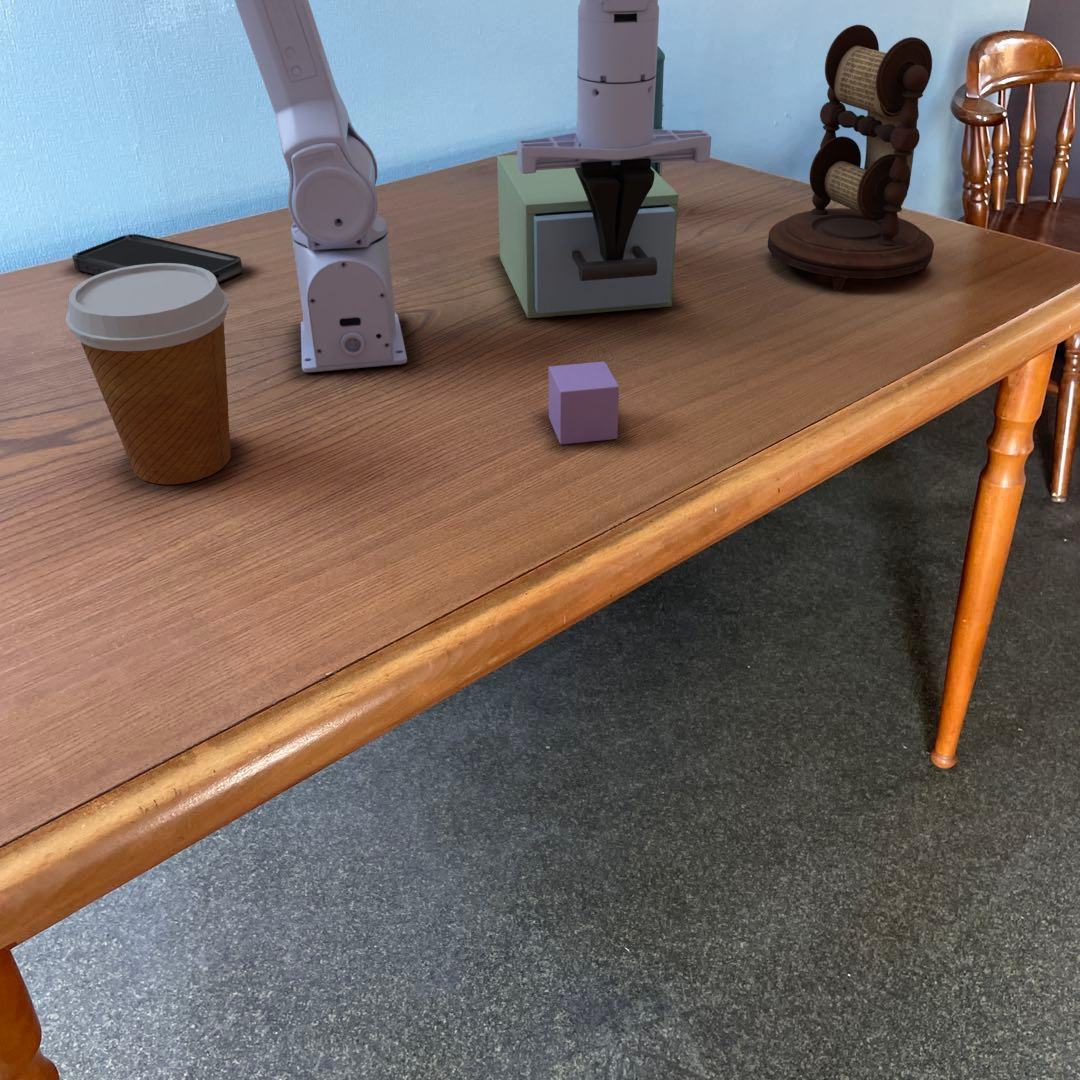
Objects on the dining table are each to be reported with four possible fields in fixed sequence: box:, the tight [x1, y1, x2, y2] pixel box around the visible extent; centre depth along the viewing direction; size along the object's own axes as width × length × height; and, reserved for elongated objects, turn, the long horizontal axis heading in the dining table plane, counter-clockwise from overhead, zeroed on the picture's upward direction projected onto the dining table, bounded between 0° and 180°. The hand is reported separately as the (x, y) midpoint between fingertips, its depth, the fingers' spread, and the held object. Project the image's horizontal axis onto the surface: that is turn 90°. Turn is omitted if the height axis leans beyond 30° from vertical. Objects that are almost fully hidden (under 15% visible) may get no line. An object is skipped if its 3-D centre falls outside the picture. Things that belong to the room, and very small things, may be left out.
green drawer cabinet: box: [496, 154, 680, 319], centre depth 96 cm, size 15×13×10 cm
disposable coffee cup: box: [64, 263, 231, 485], centre depth 69 cm, size 10×10×12 cm
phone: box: [71, 233, 244, 284], centre depth 101 cm, size 8×1×15 cm
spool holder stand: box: [767, 24, 935, 291], centre depth 96 cm, size 15×15×20 cm
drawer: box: [534, 205, 675, 314], centre depth 92 cm, size 18×11×8 cm, turn 11°
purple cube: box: [548, 361, 620, 445], centre depth 74 cm, size 4×4×4 cm
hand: (611, 257), depth 87 cm, fingers closed
